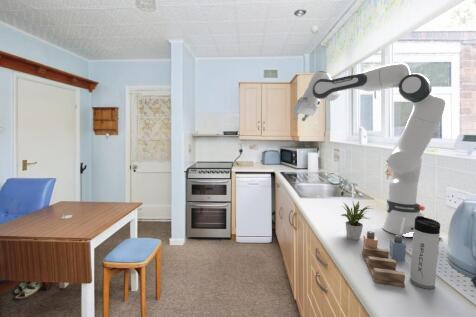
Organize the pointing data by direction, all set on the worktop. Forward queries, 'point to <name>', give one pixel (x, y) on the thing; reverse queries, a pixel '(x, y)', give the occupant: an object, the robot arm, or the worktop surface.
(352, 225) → the house plant
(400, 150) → the robot arm
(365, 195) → the worktop surface
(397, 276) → the slotted wooden block
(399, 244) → the slate plug
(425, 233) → the travel mug
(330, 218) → the worktop surface
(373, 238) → the pink square bottle
